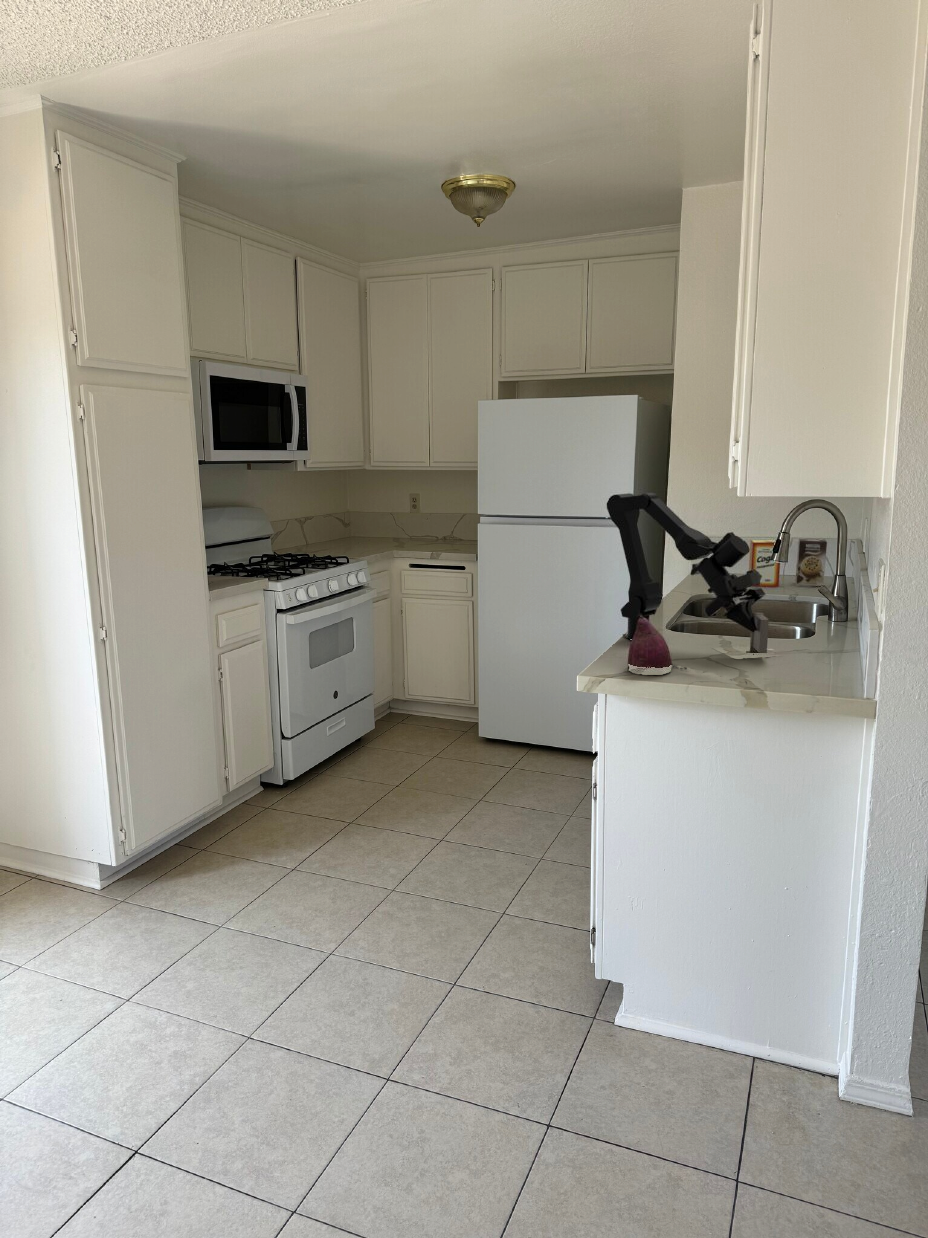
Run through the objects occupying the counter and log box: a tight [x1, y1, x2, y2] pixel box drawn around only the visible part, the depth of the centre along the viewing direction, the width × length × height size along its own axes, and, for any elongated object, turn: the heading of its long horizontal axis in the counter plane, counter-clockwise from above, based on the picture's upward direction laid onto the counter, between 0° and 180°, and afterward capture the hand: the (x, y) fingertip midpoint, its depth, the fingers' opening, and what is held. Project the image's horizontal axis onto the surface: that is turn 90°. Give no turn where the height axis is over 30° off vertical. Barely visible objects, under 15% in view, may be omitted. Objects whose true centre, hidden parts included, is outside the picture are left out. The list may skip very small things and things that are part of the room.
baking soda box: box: [748, 539, 781, 588], centre depth 306 cm, size 10×6×16 cm
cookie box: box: [794, 538, 828, 587], centre depth 304 cm, size 9×6×16 cm
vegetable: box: [627, 616, 673, 668], centre depth 201 cm, size 10×10×15 cm
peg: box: [749, 612, 775, 653], centre depth 208 cm, size 6×8×10 cm
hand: (755, 631), depth 207 cm, fingers closed
